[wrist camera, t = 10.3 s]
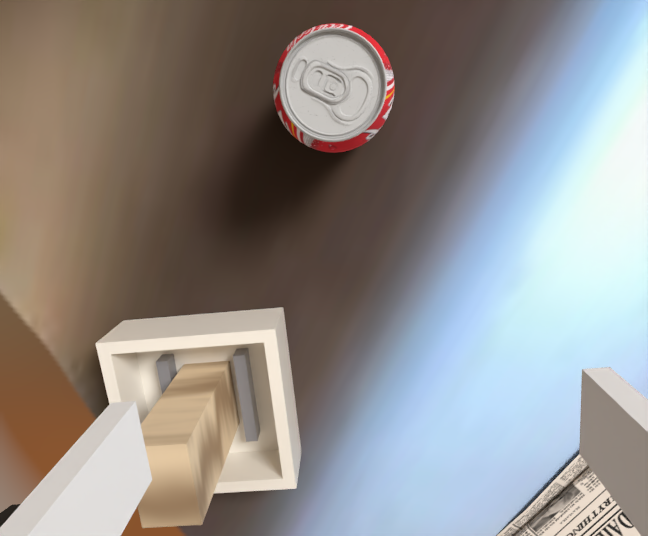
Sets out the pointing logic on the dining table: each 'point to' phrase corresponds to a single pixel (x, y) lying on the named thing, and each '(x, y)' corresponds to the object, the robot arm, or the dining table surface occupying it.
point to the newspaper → (573, 508)
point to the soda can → (333, 87)
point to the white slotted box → (248, 378)
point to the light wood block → (188, 444)
